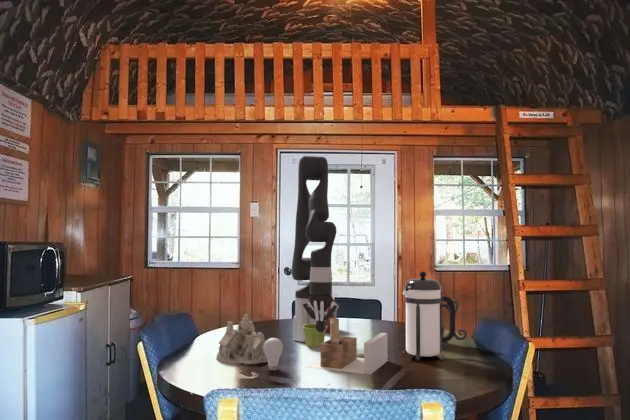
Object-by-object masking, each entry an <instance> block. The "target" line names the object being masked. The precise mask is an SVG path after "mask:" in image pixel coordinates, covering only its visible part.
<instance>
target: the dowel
mask: <svg viewBox="0 0 630 420" xmlns="http://www.w3.org/2000/svg"><path fill="white" fill-rule="evenodd" d="M329 333H330V334H329V340H330V344H337V345H339V336H340V319H339V318H337V317H336V318H331V319H330V332H329Z"/></svg>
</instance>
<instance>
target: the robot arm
mask: <svg viewBox="0 0 630 420" xmlns="http://www.w3.org/2000/svg"><path fill="white" fill-rule="evenodd" d="M297 168H298V171H297V172H298V175H297V176H298V177H297V178H298V180H297V181H298V182H297V183H298V185H297V203H296V212H295V213H296V214H295V227H294V228H295V229H294V230H295V235H294V247H293V254H292V255H293V257H292V263H291V276H292V279H293V280H295V281H309V283H308V284H307V285H305V286H303V287H300V288H298V289H296V290H295V292H294V293H295V298H294V299H295V301H294V302H295V303H294V304H295V307H294V308H295V311H294V312H295V313H294V316H292V318H293V319H292V320H293V321H292V322H293V323H292V331H293V332H292V341H296V342H300V343H306V340H305V332H304V328H303V327H302V326H303V325H307V324H316V330H318V332H324V330H325V322H326V320H328V319H330V318H331V317H332V316H333V314H334V313H335V312H336V311H337V310H338V309H339V308H340V304H337V305H336V304H335V303H334V302H335V301H334V302H333V298H332V297H333V271H332V270H333V269H332V253H333V245H334V243H335V240H336V237H337V236H336V235H337V227H336V225H335V223H334V222H333V221H328V220H329V218H330V217H329V216H330V210H329V201H328V192H329V190H328V189H329V163H328V159H327V158H326V157H325V156H320V155H319V156H317V155H315V156H313V155H302V156H300V158H299V160H298V167H297ZM307 181H319V183H318V184H317V186H316V187H315V188H314V190H313V191H312V193H311V194H310V191H309V188H308V184H307ZM310 242H311V243H325V244H324V246H323V247H322V248H316V249H313V250H311V253H310V257H303V255H304V252H305V250H306V248H307V247H308V245H309V243H310ZM330 305H331V310H330V311H329V313H328V314H327V310H328V308H329V307H330ZM336 313H337V312H336Z"/></svg>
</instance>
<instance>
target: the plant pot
mask: <svg viewBox="0 0 630 420" xmlns="http://www.w3.org/2000/svg"><path fill="white" fill-rule="evenodd" d="M302 327H303V328H304V332H305V340H306V342H305V346H306V347H308V348H312V349H313V348H321V344H322V343H324V342H325V337H326V333H327V332H326V328H327V327H328V326H326V325H325V330H324V332H318V330H316V324H307V325H303V326H302Z"/></svg>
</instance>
